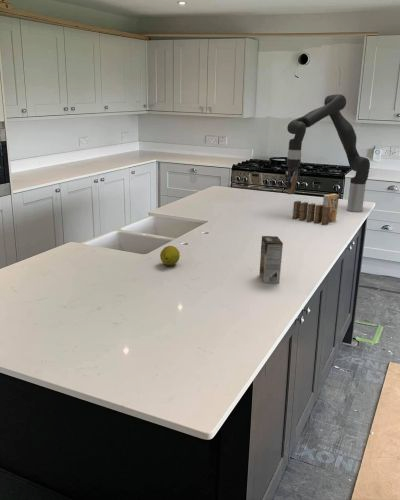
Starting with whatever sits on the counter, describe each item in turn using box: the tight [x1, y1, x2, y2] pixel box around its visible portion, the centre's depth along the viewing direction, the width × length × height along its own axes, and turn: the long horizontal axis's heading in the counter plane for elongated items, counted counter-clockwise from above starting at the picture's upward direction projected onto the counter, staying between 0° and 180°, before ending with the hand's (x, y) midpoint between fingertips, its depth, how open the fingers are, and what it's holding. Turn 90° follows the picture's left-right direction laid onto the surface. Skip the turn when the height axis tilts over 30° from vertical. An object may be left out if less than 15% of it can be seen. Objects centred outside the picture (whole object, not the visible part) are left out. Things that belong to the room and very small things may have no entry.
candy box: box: [321, 193, 340, 223], centre depth 289 cm, size 9×4×15 cm, turn 129°
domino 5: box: [313, 203, 323, 225], centre depth 286 cm, size 5×2×10 cm, turn 142°
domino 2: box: [292, 200, 302, 220], centre depth 293 cm, size 5×2×10 cm, turn 142°
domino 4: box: [306, 202, 317, 223], centre depth 288 cm, size 5×2×10 cm, turn 142°
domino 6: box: [320, 206, 331, 226], centre depth 283 cm, size 5×2×10 cm, turn 142°
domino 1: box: [287, 176, 297, 195], centre depth 292 cm, size 5×2×10 cm, turn 142°
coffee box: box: [258, 235, 284, 284], centre depth 196 cm, size 9×6×16 cm
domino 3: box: [299, 201, 309, 222], centre depth 291 cm, size 5×2×10 cm, turn 142°
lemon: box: [159, 245, 181, 266], centre depth 209 cm, size 11×8×8 cm
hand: (291, 187), depth 292 cm, fingers closed on domino 1, 5 cm apart
